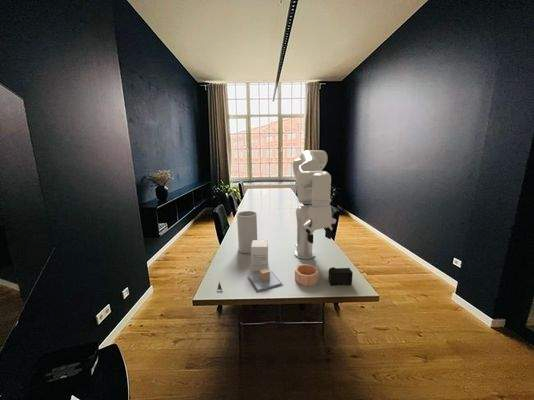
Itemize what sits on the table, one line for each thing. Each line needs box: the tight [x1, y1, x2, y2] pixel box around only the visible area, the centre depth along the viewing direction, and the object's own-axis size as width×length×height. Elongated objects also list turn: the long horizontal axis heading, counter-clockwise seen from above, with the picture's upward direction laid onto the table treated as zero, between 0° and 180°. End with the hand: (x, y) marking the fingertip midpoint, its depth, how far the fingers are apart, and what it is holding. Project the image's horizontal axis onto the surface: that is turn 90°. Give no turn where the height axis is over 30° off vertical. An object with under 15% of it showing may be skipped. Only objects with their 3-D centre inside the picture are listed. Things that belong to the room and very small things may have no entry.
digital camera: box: [327, 266, 353, 287], centre depth 109 cm, size 10×5×7 cm, turn 92°
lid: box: [249, 268, 282, 291], centre depth 109 cm, size 12×12×6 cm
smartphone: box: [216, 281, 224, 293], centre depth 111 cm, size 7×1×15 cm
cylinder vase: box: [236, 210, 258, 254], centre depth 144 cm, size 12×12×25 cm
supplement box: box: [250, 239, 269, 272], centre depth 122 cm, size 9×9×15 cm
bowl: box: [294, 263, 319, 287], centre depth 111 cm, size 11×11×6 cm
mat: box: [246, 270, 285, 294], centre depth 110 cm, size 14×14×1 cm
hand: (319, 240), depth 97 cm, fingers open, 9 cm apart
